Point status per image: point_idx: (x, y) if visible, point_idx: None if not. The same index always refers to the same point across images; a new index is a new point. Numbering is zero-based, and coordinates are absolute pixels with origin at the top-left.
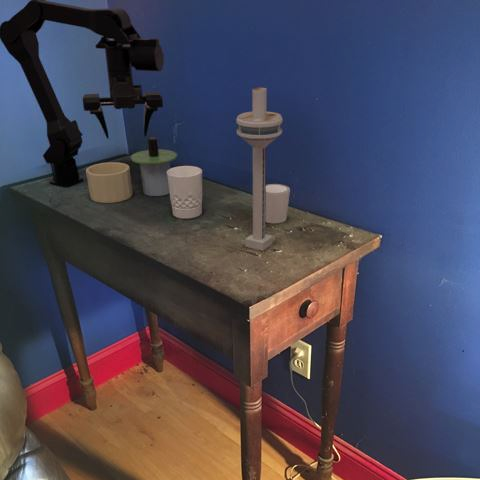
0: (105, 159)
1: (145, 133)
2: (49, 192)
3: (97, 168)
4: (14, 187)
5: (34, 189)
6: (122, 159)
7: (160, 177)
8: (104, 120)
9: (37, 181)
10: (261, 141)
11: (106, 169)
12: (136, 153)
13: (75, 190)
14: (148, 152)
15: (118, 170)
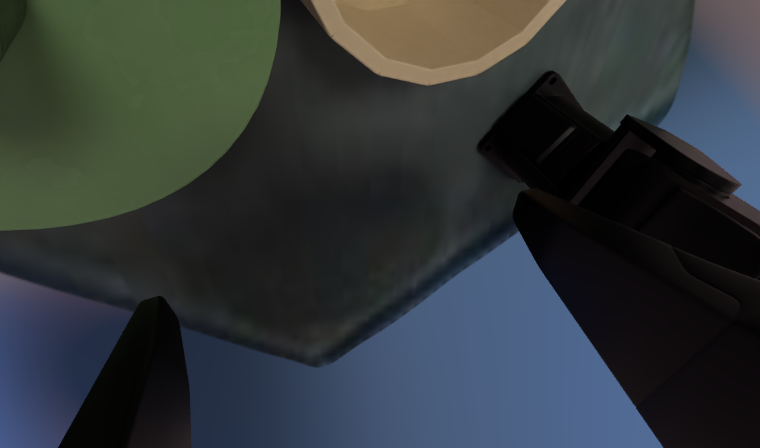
0: (387, 321)
1: (139, 323)
2: (618, 12)
3: (503, 26)
4: (675, 87)
5: (641, 58)
6: (337, 330)
7: None
8: (708, 302)
9: None
10: None
11: (442, 47)
12: (234, 101)
13: None
14: (100, 129)
15: (366, 37)
